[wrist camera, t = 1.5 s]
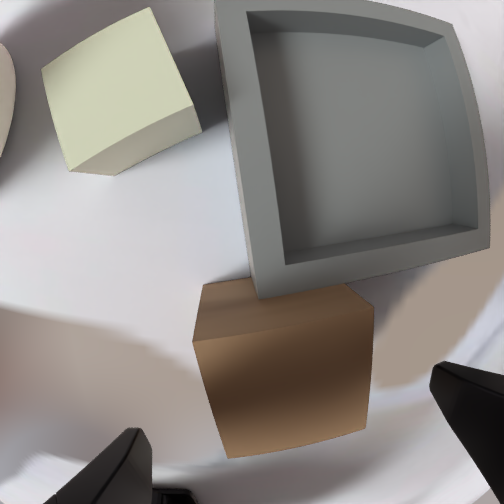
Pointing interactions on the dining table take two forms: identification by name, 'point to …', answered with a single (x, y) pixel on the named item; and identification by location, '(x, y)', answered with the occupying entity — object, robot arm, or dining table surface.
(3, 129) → the cup
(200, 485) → the dining table surface
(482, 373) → the robot arm
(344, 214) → the tray
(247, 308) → the walnut cube
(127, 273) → the dining table surface
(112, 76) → the sage cube
